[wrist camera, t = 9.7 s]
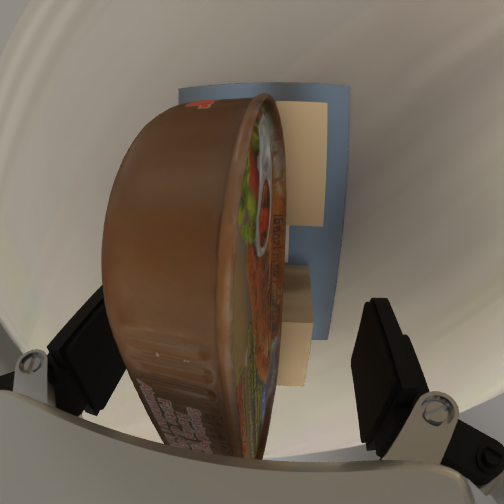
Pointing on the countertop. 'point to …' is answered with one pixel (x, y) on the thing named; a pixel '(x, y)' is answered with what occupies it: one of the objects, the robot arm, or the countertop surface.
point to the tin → (201, 271)
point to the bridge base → (334, 190)
